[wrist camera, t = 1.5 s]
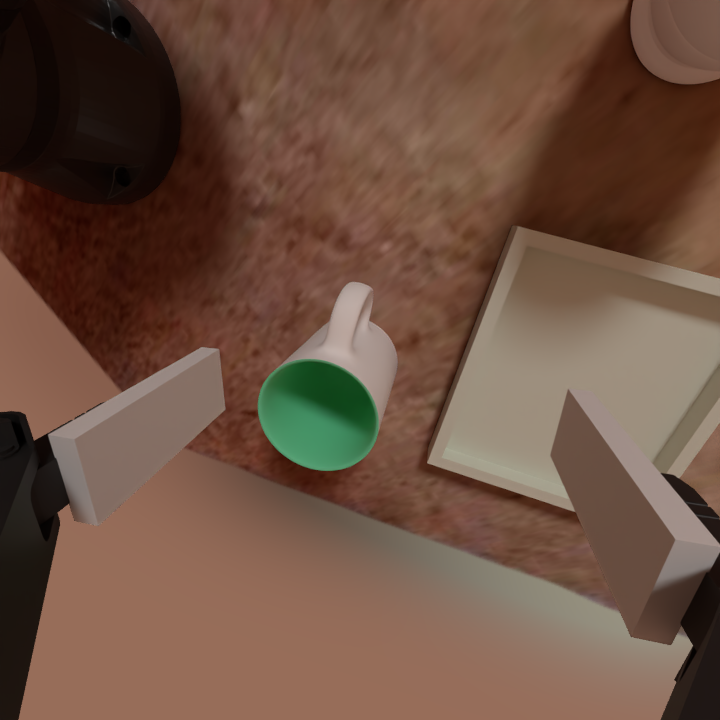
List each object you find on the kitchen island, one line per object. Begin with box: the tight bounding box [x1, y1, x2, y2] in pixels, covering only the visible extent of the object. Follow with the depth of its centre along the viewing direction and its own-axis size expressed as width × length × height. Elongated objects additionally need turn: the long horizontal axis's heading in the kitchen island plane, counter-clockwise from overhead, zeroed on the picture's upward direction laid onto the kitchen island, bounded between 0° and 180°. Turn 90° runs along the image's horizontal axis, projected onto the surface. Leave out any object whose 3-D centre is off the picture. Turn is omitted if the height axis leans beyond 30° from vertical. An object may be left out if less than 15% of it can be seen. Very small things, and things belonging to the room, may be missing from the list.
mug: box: [258, 282, 398, 471], centre depth 28 cm, size 12×8×10 cm
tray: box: [427, 225, 720, 512], centre depth 30 cm, size 18×20×2 cm
